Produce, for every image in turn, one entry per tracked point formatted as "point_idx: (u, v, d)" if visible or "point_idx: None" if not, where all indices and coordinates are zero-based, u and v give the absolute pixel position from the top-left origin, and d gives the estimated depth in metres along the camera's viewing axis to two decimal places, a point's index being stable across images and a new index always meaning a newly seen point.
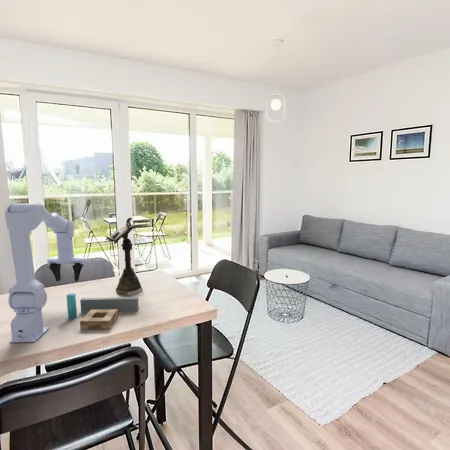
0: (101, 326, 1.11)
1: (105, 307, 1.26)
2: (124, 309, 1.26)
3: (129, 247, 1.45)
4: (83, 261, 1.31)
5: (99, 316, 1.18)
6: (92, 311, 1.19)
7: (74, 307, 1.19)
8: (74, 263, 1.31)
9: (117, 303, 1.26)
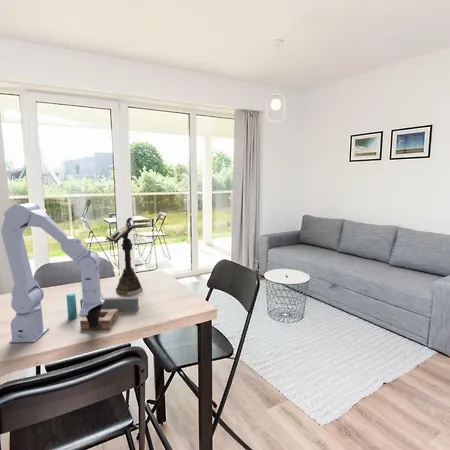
0: (101, 326, 1.11)
1: (105, 307, 1.26)
2: (124, 309, 1.26)
3: (129, 247, 1.45)
4: (82, 312, 1.02)
5: (99, 316, 1.18)
6: None
7: (74, 307, 1.19)
8: None
9: (117, 303, 1.26)
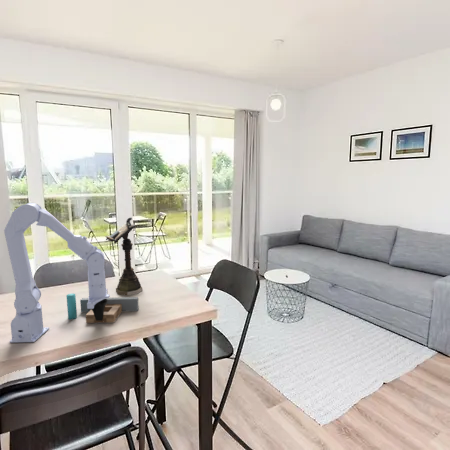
0: (106, 320, 1.16)
1: None
2: (124, 309, 1.26)
3: (129, 247, 1.45)
4: (89, 306, 1.07)
5: (104, 310, 1.23)
6: None
7: (74, 307, 1.19)
8: None
9: (117, 303, 1.26)
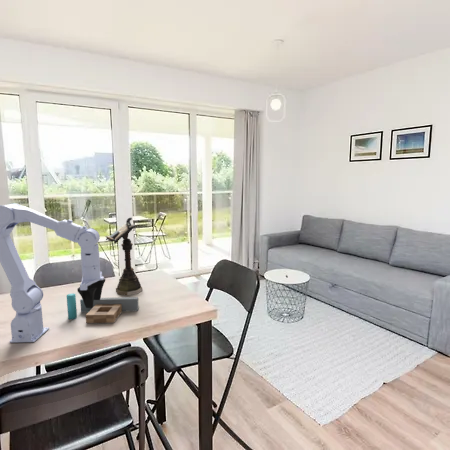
0: (106, 320, 1.16)
1: None
2: (124, 309, 1.26)
3: (129, 247, 1.45)
4: (82, 287, 1.01)
5: (104, 310, 1.23)
6: (97, 306, 1.23)
7: (74, 307, 1.19)
8: None
9: (117, 303, 1.26)
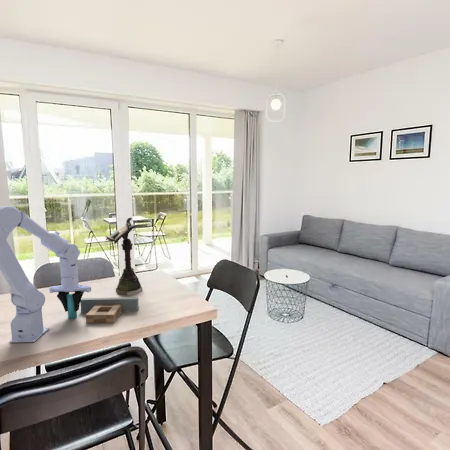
0: (106, 320, 1.16)
1: None
2: (124, 309, 1.26)
3: (129, 247, 1.45)
4: (89, 289, 1.19)
5: (104, 310, 1.23)
6: (97, 306, 1.23)
7: None
8: None
9: (117, 303, 1.26)
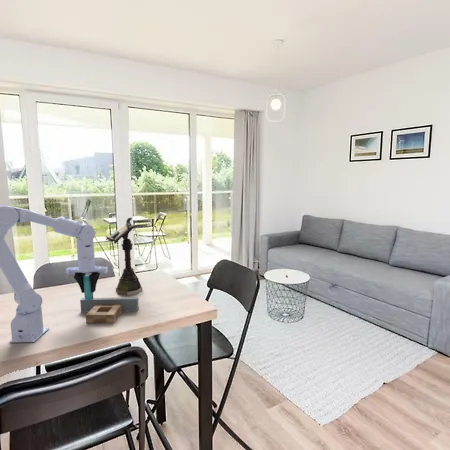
0: (106, 320, 1.16)
1: None
2: (124, 309, 1.26)
3: (129, 247, 1.45)
4: (106, 270, 1.18)
5: (104, 310, 1.23)
6: (97, 306, 1.23)
7: None
8: None
9: (117, 303, 1.26)
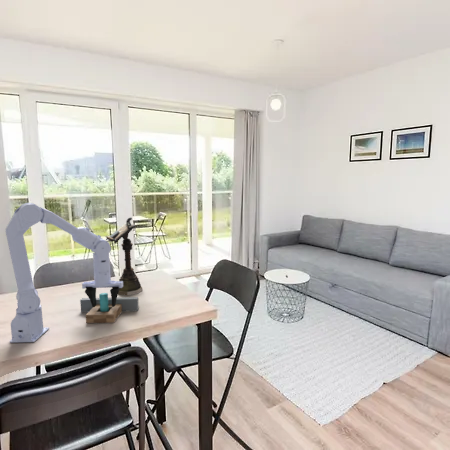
0: (106, 320, 1.16)
1: None
2: (124, 309, 1.26)
3: (129, 247, 1.45)
4: (122, 284, 1.19)
5: None
6: (97, 306, 1.23)
7: (107, 306, 1.20)
8: (112, 287, 1.19)
9: (117, 303, 1.26)
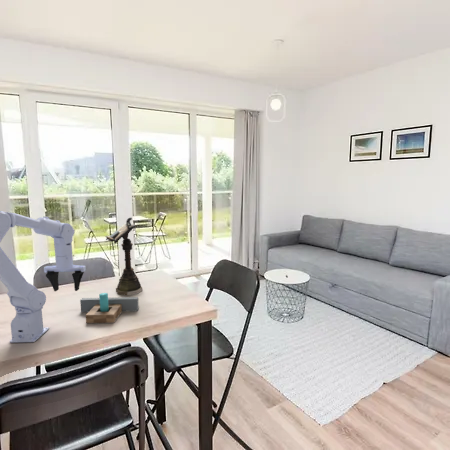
0: (106, 320, 1.16)
1: None
2: (124, 309, 1.26)
3: (129, 247, 1.45)
4: (84, 268, 1.19)
5: None
6: (97, 306, 1.23)
7: (107, 306, 1.20)
8: (74, 271, 1.19)
9: (117, 303, 1.26)
